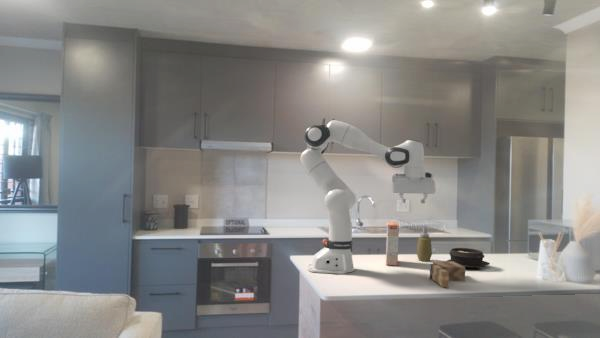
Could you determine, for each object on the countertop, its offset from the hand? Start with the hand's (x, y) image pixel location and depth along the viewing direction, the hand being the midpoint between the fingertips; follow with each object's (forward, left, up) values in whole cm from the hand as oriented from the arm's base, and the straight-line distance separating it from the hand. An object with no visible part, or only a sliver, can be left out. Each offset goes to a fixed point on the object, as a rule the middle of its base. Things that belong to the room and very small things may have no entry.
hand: (413, 203), depth 196 cm
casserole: (+33, +14, -33) cm, 49 cm away
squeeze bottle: (+16, +28, -33) cm, 46 cm away
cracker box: (-4, +20, -33) cm, 39 cm away
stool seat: (+12, -9, -33) cm, 36 cm away
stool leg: (+6, -19, -33) cm, 38 cm away
